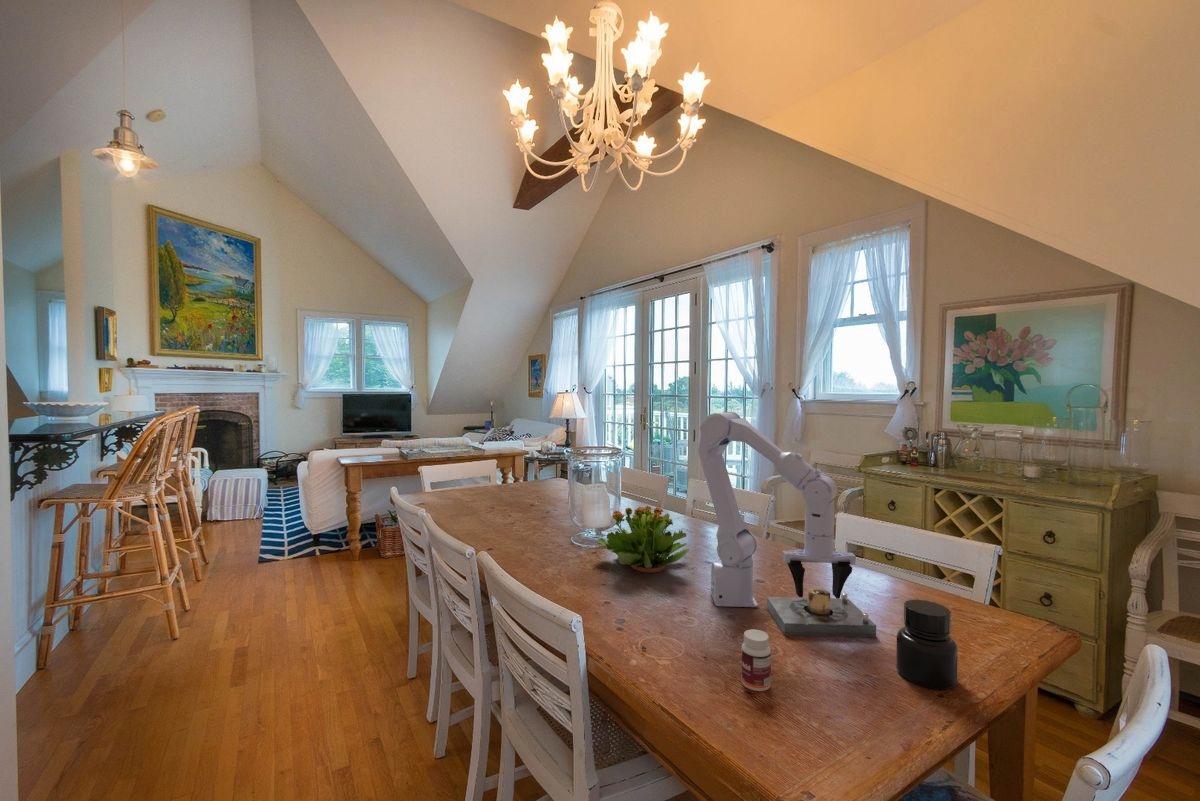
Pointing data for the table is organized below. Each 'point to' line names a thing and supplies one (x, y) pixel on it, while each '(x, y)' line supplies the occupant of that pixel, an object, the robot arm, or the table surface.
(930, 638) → the ink bottle
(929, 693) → the table surface
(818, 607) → the bushing
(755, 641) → the pill bottle
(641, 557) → the potted flower
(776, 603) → the jig
